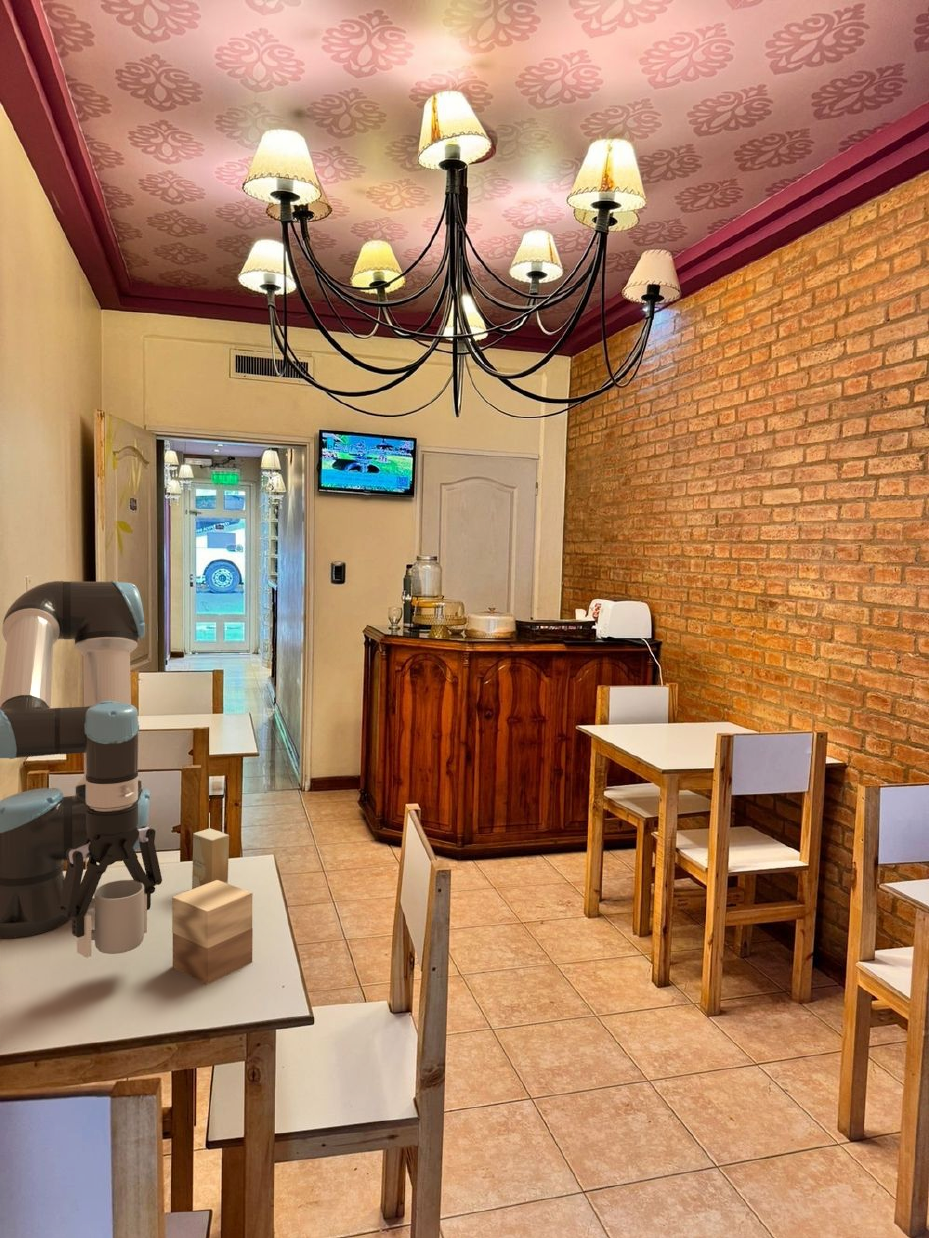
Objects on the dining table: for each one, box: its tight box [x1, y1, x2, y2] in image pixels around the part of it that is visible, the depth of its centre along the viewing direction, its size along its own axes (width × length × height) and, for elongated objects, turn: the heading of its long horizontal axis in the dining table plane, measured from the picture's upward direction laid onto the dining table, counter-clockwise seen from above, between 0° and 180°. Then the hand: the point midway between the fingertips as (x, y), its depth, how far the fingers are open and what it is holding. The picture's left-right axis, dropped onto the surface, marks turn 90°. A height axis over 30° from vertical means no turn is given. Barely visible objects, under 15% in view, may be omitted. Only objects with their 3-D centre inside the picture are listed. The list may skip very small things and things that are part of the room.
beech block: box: [171, 880, 253, 948], centre depth 133 cm, size 9×9×6 cm
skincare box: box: [191, 827, 230, 890], centre depth 162 cm, size 6×4×12 cm
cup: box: [87, 879, 145, 955], centre depth 127 cm, size 7×10×9 cm
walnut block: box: [172, 927, 254, 985], centre depth 134 cm, size 9×9×6 cm
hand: (112, 941), depth 128 cm, fingers closed on cup, 9 cm apart
